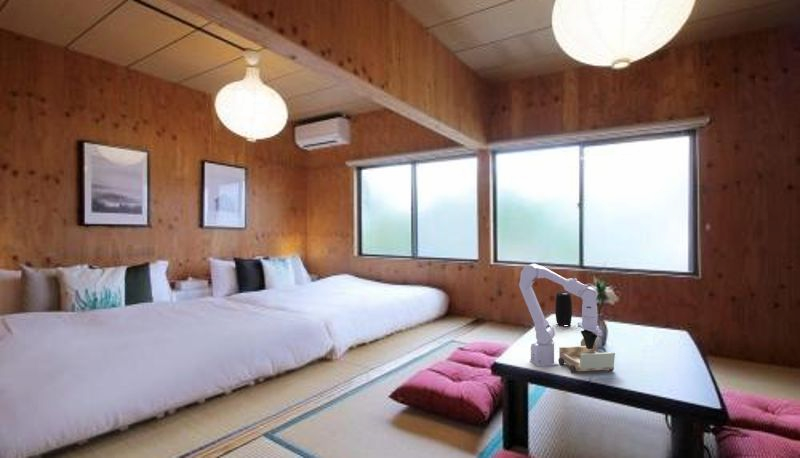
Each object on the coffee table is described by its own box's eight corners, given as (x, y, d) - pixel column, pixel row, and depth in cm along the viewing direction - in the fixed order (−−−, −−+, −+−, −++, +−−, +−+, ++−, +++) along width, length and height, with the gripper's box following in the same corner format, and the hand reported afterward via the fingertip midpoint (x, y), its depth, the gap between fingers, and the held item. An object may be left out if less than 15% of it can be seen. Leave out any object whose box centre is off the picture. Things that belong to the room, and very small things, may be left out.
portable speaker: (557, 322, 250) (557, 290, 250) (573, 324, 245) (573, 292, 245) (553, 325, 243) (553, 292, 243) (570, 327, 238) (570, 294, 238)
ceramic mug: (579, 351, 195) (579, 335, 195) (585, 347, 201) (586, 331, 201) (602, 356, 188) (603, 340, 187) (608, 352, 193) (609, 336, 193)
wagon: (574, 375, 165) (574, 357, 165) (557, 363, 179) (557, 347, 179) (615, 372, 167) (615, 355, 167) (595, 361, 181) (595, 345, 181)
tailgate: (580, 368, 164) (581, 355, 163) (579, 367, 165) (580, 353, 164) (613, 366, 166) (615, 353, 165) (612, 365, 167) (613, 352, 166)
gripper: (609, 320, 163) (609, 353, 163) (588, 312, 177) (588, 342, 178) (593, 320, 162) (593, 354, 162) (573, 312, 177) (573, 343, 177)
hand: (589, 348), depth 170 cm, fingers closed
